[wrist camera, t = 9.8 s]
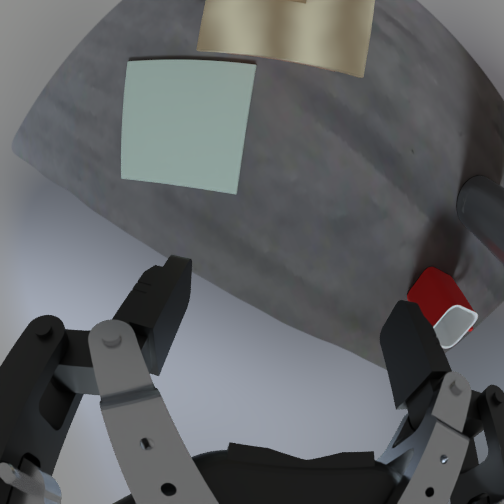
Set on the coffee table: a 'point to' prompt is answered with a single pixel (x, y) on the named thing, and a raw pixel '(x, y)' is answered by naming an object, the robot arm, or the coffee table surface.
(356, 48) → the lid
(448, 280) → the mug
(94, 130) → the coffee table surface
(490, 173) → the coffee table surface
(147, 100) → the mat
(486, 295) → the coffee table surface
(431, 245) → the coffee table surface
